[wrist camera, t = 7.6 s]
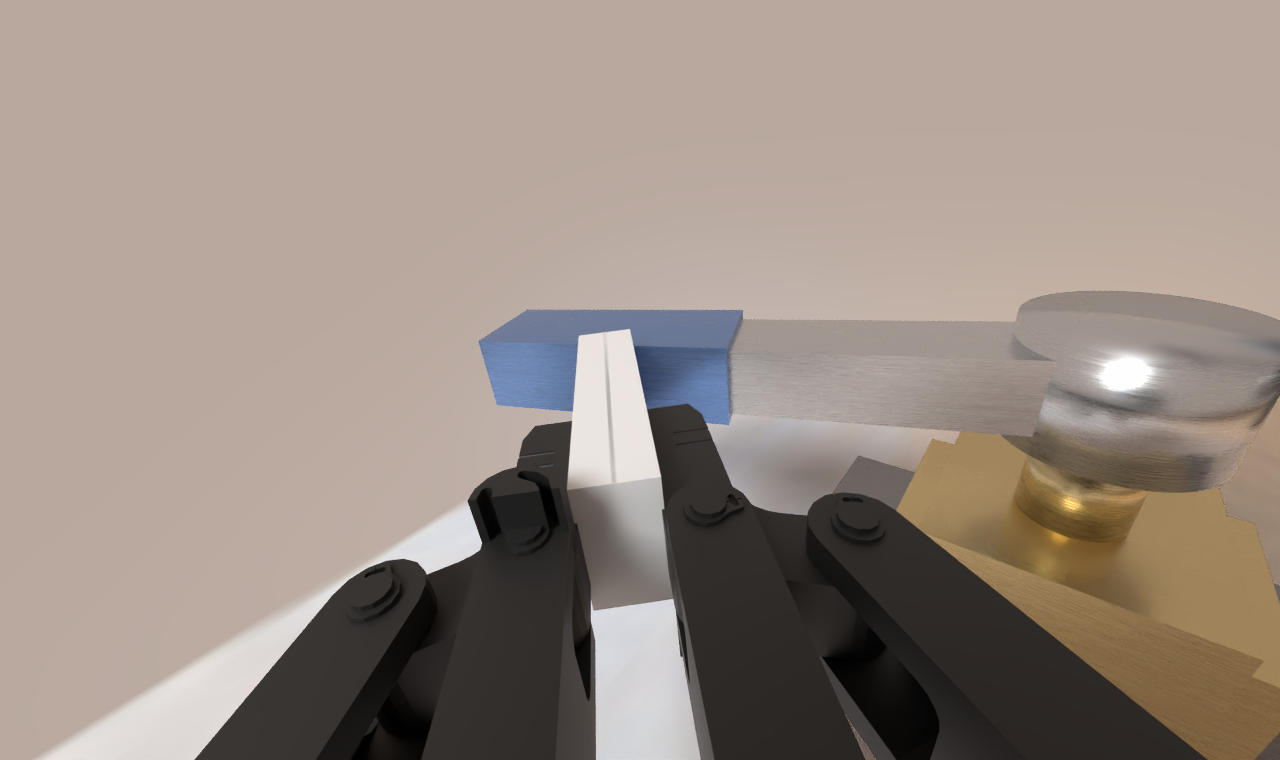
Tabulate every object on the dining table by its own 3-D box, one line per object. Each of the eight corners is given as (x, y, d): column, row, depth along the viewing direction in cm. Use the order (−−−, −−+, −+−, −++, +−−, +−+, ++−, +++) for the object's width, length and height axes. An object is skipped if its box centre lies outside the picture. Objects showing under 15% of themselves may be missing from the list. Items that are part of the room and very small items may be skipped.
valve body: (1267, 704, 14) (1485, 451, 10) (1324, 935, 10) (1717, 685, 6) (856, 534, 22) (880, 350, 17) (801, 632, 18) (814, 425, 14)
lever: (1296, 506, 9) (1391, 369, 8) (487, 423, 16) (461, 341, 14) (1162, 396, 13) (1210, 289, 11) (550, 366, 19) (535, 296, 18)
